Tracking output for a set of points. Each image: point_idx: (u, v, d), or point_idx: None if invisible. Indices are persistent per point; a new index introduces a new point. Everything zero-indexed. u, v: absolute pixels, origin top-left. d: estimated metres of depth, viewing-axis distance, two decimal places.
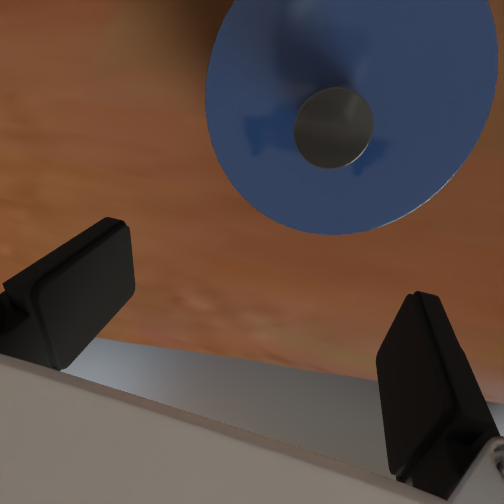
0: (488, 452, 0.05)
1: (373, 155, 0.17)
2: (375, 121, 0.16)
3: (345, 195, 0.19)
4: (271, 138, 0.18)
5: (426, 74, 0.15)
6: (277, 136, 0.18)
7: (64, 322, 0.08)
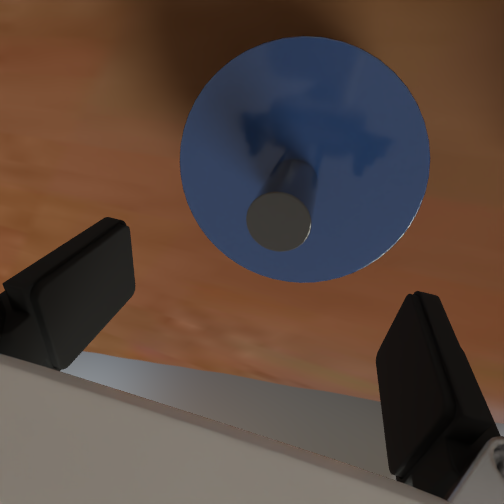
0: (488, 452, 0.05)
1: (329, 219, 0.19)
2: (329, 192, 0.18)
3: (307, 250, 0.21)
4: (239, 201, 0.20)
5: (370, 156, 0.17)
6: (244, 200, 0.20)
7: (64, 322, 0.08)
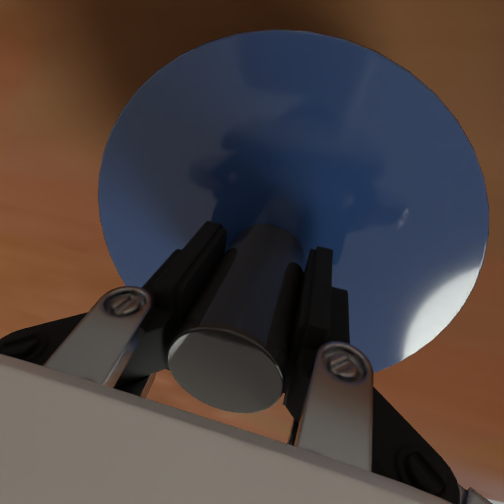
0: (321, 350, 0.07)
1: None
2: None
3: None
4: None
5: (387, 227, 0.10)
6: None
7: None
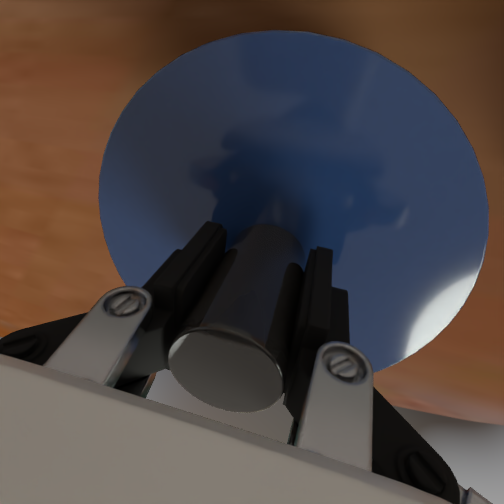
0: (321, 350, 0.07)
1: None
2: None
3: None
4: None
5: (388, 227, 0.10)
6: None
7: None
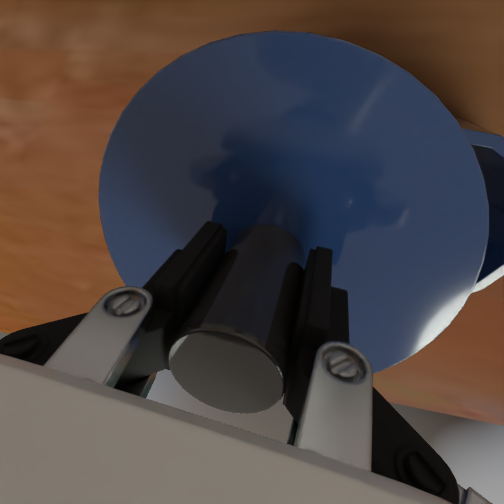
0: (321, 350, 0.07)
1: None
2: None
3: None
4: None
5: (388, 227, 0.10)
6: None
7: None
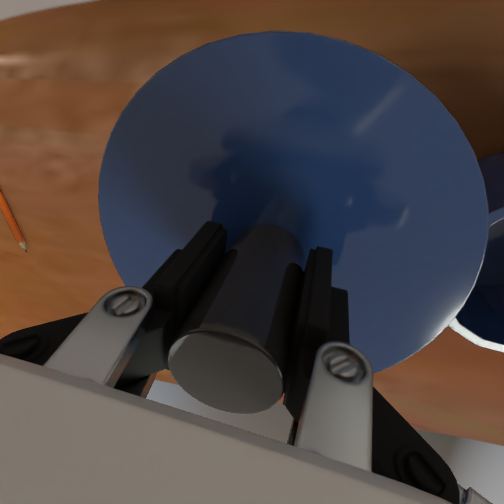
0: (321, 350, 0.07)
1: None
2: None
3: None
4: None
5: (388, 228, 0.10)
6: None
7: None
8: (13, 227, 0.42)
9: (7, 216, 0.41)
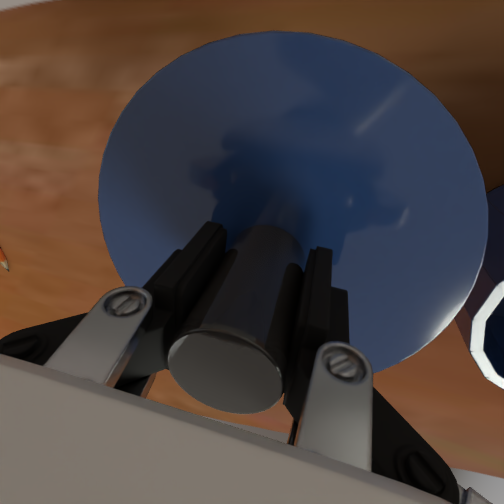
0: (321, 350, 0.07)
1: None
2: None
3: None
4: None
5: (387, 228, 0.10)
6: None
7: None
8: None
9: None
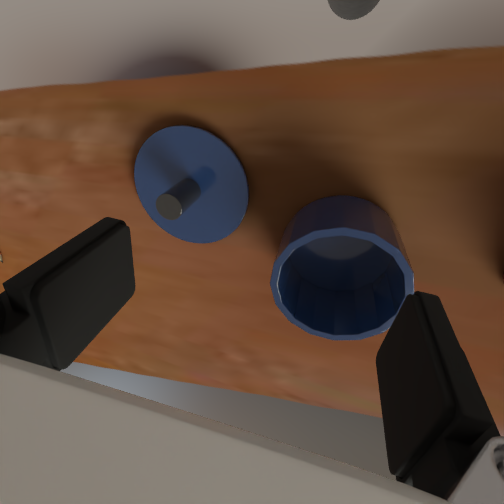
0: (488, 452, 0.05)
1: (209, 208, 0.38)
2: (206, 194, 0.37)
3: (202, 225, 0.40)
4: None
5: (220, 177, 0.36)
6: None
7: (64, 322, 0.08)
8: None
9: None
